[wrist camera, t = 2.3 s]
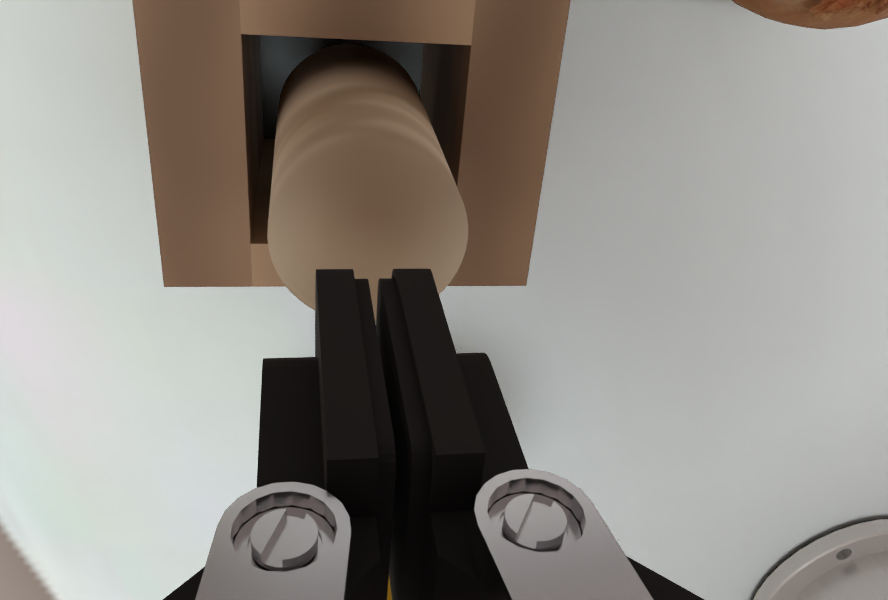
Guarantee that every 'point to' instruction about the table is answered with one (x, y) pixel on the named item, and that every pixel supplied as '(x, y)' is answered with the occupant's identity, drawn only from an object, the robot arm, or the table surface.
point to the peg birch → (359, 176)
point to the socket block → (251, 157)
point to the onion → (819, 12)
